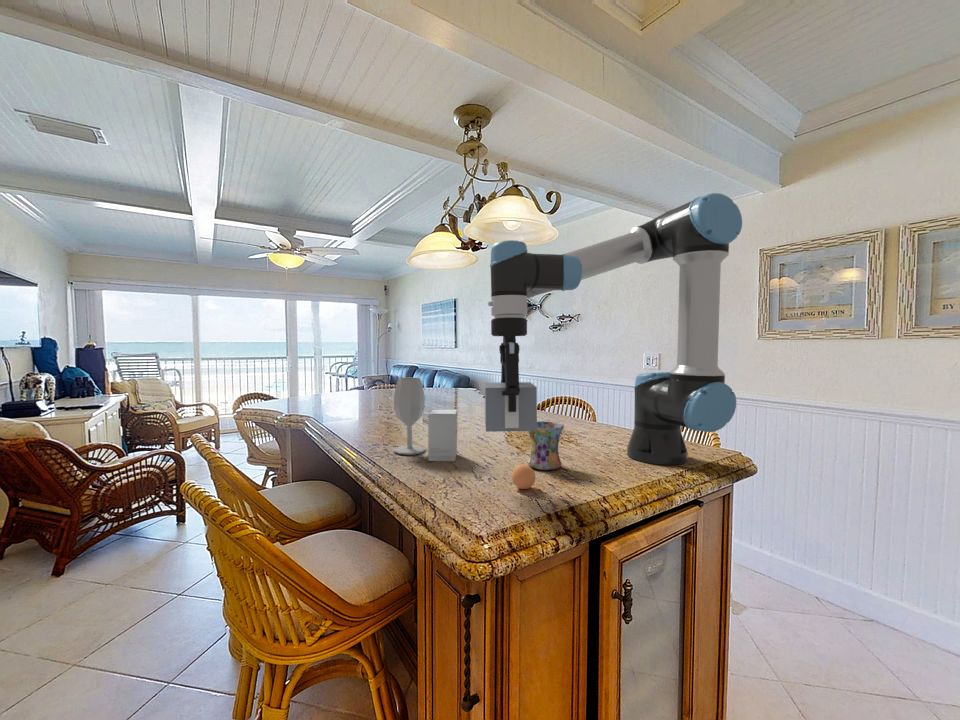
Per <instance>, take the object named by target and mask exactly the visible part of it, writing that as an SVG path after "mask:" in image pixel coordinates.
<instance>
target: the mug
mask: <svg viewBox="0 0 960 720" xmlns="http://www.w3.org/2000/svg"><path fill="white" fill-rule="evenodd" d="M564 427H565V426H564V424H562V423H560V422H554V421H544V420H543V421H537V431H527V432H528V435H529V439H530V444H531V445H530V446H531V447H530V448H531V449H530V454H529V458H528V460H527V464H528V465H527V466H529V467H531V468H532V469H533V468H534V469H537V470H543V471H549V470H550V471H551V470H552V471H553V470H556V469H559V468H560V467H562V461H561V458H560V455H559V454H560V453H559V444H560V443H559V442H560V438H561V435H562V432H563V429H564Z"/></svg>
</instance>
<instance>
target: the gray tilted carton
mask: <svg viewBox="0 0 960 720" xmlns="http://www.w3.org/2000/svg"><path fill="white" fill-rule="evenodd" d="M519 389H520V392H519V394H518V395H519V428H505V396H502V391H506V388H505V382H502V383H501V382H484V424H485V426H484V427H485V432H486V433H487V432H493V433H494V432H528V431H537V422H538V419H537V418H538V414H537V412H538V409H537V407H538V405H537V404H538V403H537V402H538V400H537V399H538V398H537V395H538V394H537V391H538V390H537V386H536V385H534V384H533V383H532V382H530V381H526V382H525V381H523V382H522V381H519Z"/></svg>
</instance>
